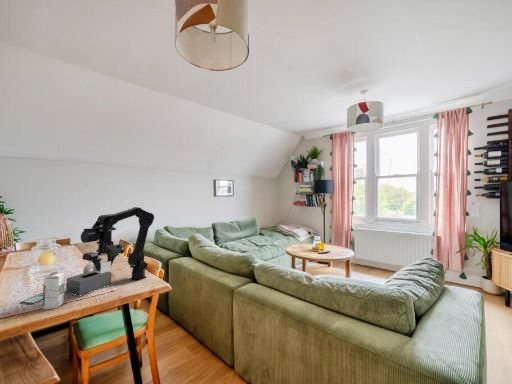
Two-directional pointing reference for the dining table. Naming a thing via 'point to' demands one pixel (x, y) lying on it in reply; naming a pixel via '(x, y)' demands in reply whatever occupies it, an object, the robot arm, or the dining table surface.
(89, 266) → the donut
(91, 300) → the dining table surface
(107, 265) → the light grey block
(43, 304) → the syrup box
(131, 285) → the dining table surface
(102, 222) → the robot arm
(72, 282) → the cash box
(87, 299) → the dining table surface
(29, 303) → the smartphone
